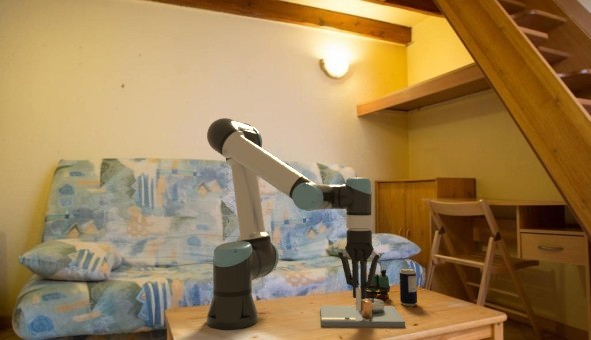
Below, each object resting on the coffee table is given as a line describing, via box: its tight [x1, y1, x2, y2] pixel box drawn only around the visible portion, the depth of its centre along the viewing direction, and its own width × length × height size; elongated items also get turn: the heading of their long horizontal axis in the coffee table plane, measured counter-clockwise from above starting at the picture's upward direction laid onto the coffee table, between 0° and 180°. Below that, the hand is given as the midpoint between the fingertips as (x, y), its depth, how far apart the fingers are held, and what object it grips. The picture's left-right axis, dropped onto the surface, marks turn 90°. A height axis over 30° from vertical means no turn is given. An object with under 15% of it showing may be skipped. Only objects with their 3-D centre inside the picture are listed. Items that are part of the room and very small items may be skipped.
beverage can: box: [399, 267, 418, 307], centre depth 134 cm, size 6×6×12 cm
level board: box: [319, 305, 406, 328], centre depth 119 cm, size 24×16×2 cm, turn 88°
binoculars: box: [365, 268, 391, 302], centre depth 142 cm, size 9×11×10 cm
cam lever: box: [361, 298, 385, 319], centre depth 118 cm, size 16×8×5 cm, turn 162°
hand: (359, 309), depth 113 cm, fingers closed
